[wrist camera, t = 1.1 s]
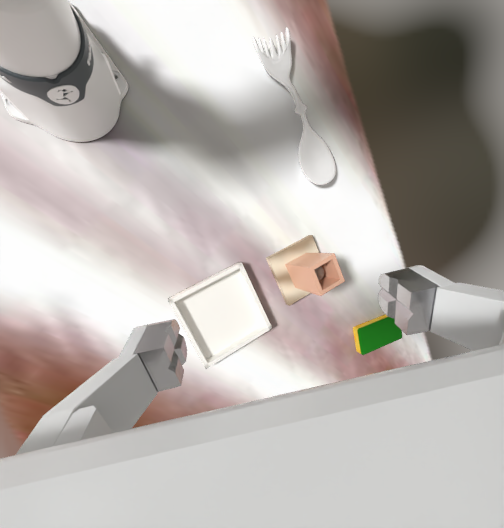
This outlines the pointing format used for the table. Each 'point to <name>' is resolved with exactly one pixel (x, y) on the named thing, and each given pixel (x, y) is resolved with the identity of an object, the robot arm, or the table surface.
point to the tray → (220, 314)
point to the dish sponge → (376, 334)
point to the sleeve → (307, 278)
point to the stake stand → (281, 272)
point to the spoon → (298, 112)
